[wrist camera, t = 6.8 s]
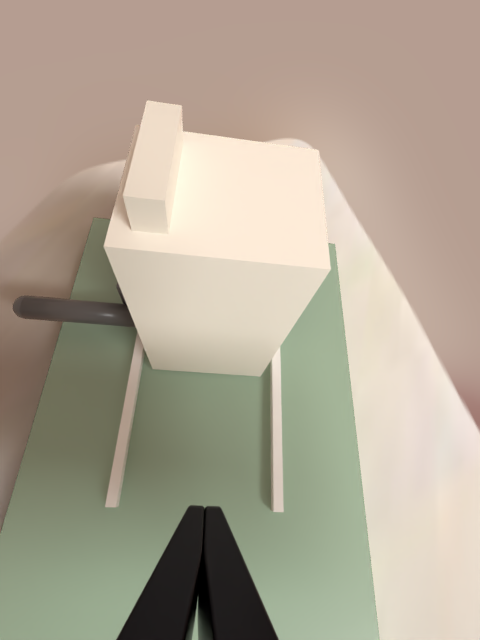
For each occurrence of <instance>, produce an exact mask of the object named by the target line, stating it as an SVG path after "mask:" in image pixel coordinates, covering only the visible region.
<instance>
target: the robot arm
mask: <svg viewBox="0 0 480 640" xmlns="http://www.w3.org/2000/svg"><path fill="white" fill-rule="evenodd" d="M197 601H198V609H197ZM196 610H197V612H198V640H279V638H278V636H277V634H276V632H275V629H274V627H273V625H272V622H271V620H270V618H269V616H268V613H267V611H266V609H265V606H264V604H263V602H262V599H261V597H260V595H259V593H258V590H257V588H256V586H255V583H254V581H253V579H252V577H251V574H250V572H249V570H248V567H247V565H246V563H245V561H244V558H243V556H242V554H241V551H240V549H239V547H238V545H237V542H236V540H235V538H234V535H233V533H232V531H231V529H230V526H229V524H228V522H227V519H226V517H225V515H224V512H223V510H222V508H221V507H220V506H206V507H205V509H204V506H201V505H190V506H189V507H188V508H187V509H186V511H185V513H184V515H183V517H182V519H181V521H180V522H179V524H178V526H177V528H176V530H175V532H174V534H173V535H172V537H171V539H170V541H169V543H168V545H167V546H166V548H165V550H164V552H163V554H162V556H161V558H160V559H159V561H158V563H157V565H156V567H155V569H154V570H153V572H152V574H151V576H150V578H149V580H148V582H147V583H146V585H145V587H144V589H143V591H142V593H141V594H140V596H139V598H138V600H137V602H136V604H135V606H134V607H133V609H132V611H131V613H130V615H129V617H128V619H127V620H126V622H125V624H124V626H123V628H122V630H121V631H120V633H119V635H118V637H117V639H116V640H192V636H193V630H194V624H195V617H196Z"/></svg>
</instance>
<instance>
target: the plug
mask: <svg viewBox="0 0 480 640" xmlns="http://www.w3.org/2000/svg"><path fill="white" fill-rule="evenodd" d="M182 126H183V125H182V106H181V105H174V104H167V103H161V102H154V101H147V103H146V107H145V111H144V115H143V118H142V122H141V126H140V125H136V126H135V130H134V133H133V137H132V141H131V145H130V149H129V152H128V156H127V160H126V163H125V167H124V171H123V175H122V179H121V182H120V186H119V190H118V194H117V197H116V201H115V205H114V209H113V212H112V216H111V220H110V224H109V227H108V231H107V235H106V239H105V242H104V249H105V251H106V254H107V256H108V259H109V261H110V264H111V266H112V269H113V271H114V274H115V276H116V279H117V281H118V284H119V286H120V289H121V291H122V294H123V296H124V299H125V301H126V304H119V303H107V302H95V301H84V300H72V299H61V298H49V297H37V296H21V297H19V298H17V299H16V300H15V301H14V303H13V310H14V312H15V314H16V315H17V316H19V317H21V318H25V319H36V320H49V321H61V322H74V323H86V324H99V325H111V326H124V327H136V329H137V331H138V334H139V336H140V339H141V341H142V344H143V346H144V349H145V351H146V354H147V356H148V359H149V361H150V364H151V366H152V369H156V370H170V371H185V372H200V373H214V374H229V375H244V376H258V377H260V376H261V375H262V373H263V372H264V370H265V369H266V367H267V366H268V364H269V363H270V361H271V360H272V358H273V357H274V355H275V354H276V352H277V350H278V349H279V347H280V346H281V344H282V343H283V341H284V340H285V338H286V337H287V335H288V334H289V332H290V331H291V329H292V328H293V326H294V325H295V323H296V322H297V320H298V319H299V317H300V316H301V314H302V313H303V311H304V310H305V308H306V307H307V305H308V303H309V302H310V300H311V299H312V297H313V296H314V294H315V293H316V291H317V290H318V288H319V287H320V285H321V284H322V282H323V281H324V279H325V278H326V276H327V275H328V273H329V272H330V270H331V266H330V256H329V246H328V237H327V227H326V217H325V207H324V197H323V188H322V178H321V168H320V158H319V150H315V149H308V148H300V147H293V146H286V145H278V144H271V143H264V142H257V141H249V140H241V139H235V138H228V137H219V136H213V135H206V134H199V133H191V132H184V131H183V127H182Z"/></svg>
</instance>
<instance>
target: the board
mask: <svg viewBox="0 0 480 640" xmlns="http://www.w3.org/2000/svg"><path fill="white" fill-rule="evenodd" d="M110 220H111V219H103V218H93V222H92V225H91V228H90V232H89V235H88V239H87V242H86V245H85V249H84V252H83V255H82V259H81V262H80V266H79V269H78V272H77V276H76V279H75V283H74V286H73V289H72V293H71V296H70V299H72V300H84V301H95V302H107V303H119V304H123V302H122V300H121V297H120V295H119V293H118V290H117V288H116V285H117V279H116V276H115V274H114V271H113V269H112V266H111V264H110V261H109V259H108V256H107V254H106V251H105V249H104V242H105V239H106V235H107V231H108V227H109V224H110ZM328 246H329V256H330V266H331V270H330V272H329V273H328V275H327V276H326V278H325V279H324V281H323V282H322V284H321V285H320V287H319V288H318V290H317V291H316V293H315V294H314V296H313V297H312V299H311V300H310V302H309V303H308V305H307V307H306V308H305V310H304V311H303V313H302V314H301V316H300V317H299V319H298V320H297V322H296V323H295V325H294V326H293V328H292V329H291V331H290V332H289V334H288V335H287V337H286V338H285V340H284V341H283V343H282V344H281V346H280V347H279V349H278V350H277V352H276V354H275V355H274V357H273V358H272V360H271V361H270V363H269V364H268V366H267V367H266V369H265V370H264V372H263V373H262V375H261V376H260V377H258V376H244V375H229V374H214V373H200V372H185V371H170V370H156V369H152V366H151V364H150V361H149V359H148V356H147V354H146V351H145V349H144V346H143V344H142V341H141V339H140V336H139V334H138V331H137V329H136V327H124V326H111V325H99V324H86V323H74V322H63V323H62V327H61V330H60V333H59V337H58V340H57V343H56V347H55V350H54V354H53V357H52V360H51V364H50V367H49V370H48V374H47V377H46V381H45V384H44V387H43V391H42V394H41V398H40V401H39V404H38V408H37V411H36V414H35V418H34V421H33V425H32V428H31V431H30V435H29V438H28V442H27V445H26V448H25V452H24V455H23V458H22V462H21V465H20V469H19V472H18V475H17V479H16V482H15V485H14V489H13V492H12V496H11V499H10V502H9V506H8V509H7V513H6V516H5V519H4V523H3V526H2V529H1V533H0V640H116V639H117V637H118V635H119V633H120V631H121V630H122V628H123V626H124V624H125V622H126V620H127V619H128V617H129V615H130V613H131V611H132V609H133V607H134V606H135V604H136V602H137V600H138V598H139V596H140V594H141V593H142V591H143V589H144V587H145V585H146V583H147V582H148V580H149V578H150V576H151V574H152V572H153V570H154V569H155V567H156V565H157V563H158V561H159V559H160V558H161V556H162V554H163V552H164V550H165V548H166V546H167V545H168V543H169V541H170V539H171V537H172V535H173V534H174V532H175V530H176V528H177V526H178V524H179V522H180V521H181V519H182V517H183V515H184V513H185V511H186V509H187V508H188V507H189V506H190V505H201V506H204V509H205V507H206V506H220V507H221V508H222V510H223V512H224V515H225V517H226V519H227V522H228V524H229V526H230V529H231V531H232V533H233V535H234V538H235V540H236V542H237V545H238V547H239V549H240V551H241V554H242V556H243V558H244V561H245V563H246V565H247V567H248V570H249V572H250V574H251V577H252V579H253V581H254V583H255V586H256V588H257V590H258V593H259V595H260V597H261V599H262V602H263V604H264V606H265V609H266V611H267V613H268V616H269V618H270V620H271V622H272V625H273V627H274V629H275V632H276V634H277V636H278V638H279V640H380V639H379V630H378V621H377V612H376V603H375V595H374V586H373V577H372V568H371V559H370V550H369V541H368V533H367V524H366V515H365V506H364V497H363V488H362V479H361V470H360V462H359V453H358V444H357V435H356V426H355V417H354V408H353V400H352V391H351V382H350V373H349V364H348V355H347V346H346V338H345V329H344V320H343V311H342V302H341V293H340V284H339V276H338V267H337V258H336V249H335V244H331V243H328ZM197 609H198V601H197ZM192 640H198V612H197V610H196V617H195V624H194V630H193V636H192Z"/></svg>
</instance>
